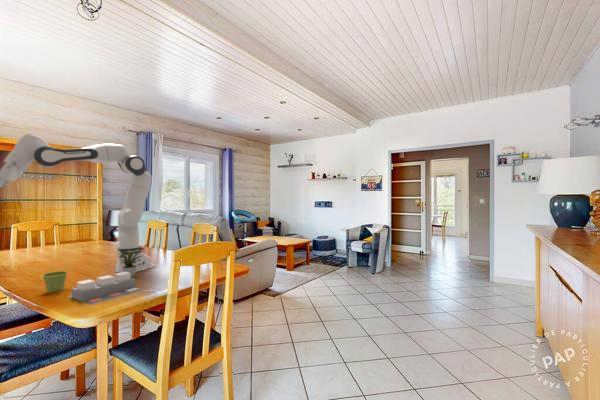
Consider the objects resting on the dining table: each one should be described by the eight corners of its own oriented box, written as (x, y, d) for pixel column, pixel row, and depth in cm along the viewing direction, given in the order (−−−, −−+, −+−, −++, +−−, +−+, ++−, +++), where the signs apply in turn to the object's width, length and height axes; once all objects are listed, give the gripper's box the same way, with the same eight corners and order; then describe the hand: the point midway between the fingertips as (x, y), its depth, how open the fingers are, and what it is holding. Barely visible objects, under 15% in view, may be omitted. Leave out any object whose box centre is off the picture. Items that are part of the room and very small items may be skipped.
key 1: (89, 290, 129) (89, 279, 129) (95, 292, 127) (95, 281, 127) (76, 293, 125) (76, 282, 124) (82, 295, 122) (82, 283, 122)
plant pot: (46, 296, 129) (46, 277, 128) (38, 292, 134) (39, 274, 133) (70, 290, 137) (71, 273, 136) (63, 287, 142) (63, 270, 141)
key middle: (107, 285, 136) (108, 275, 136) (113, 287, 134) (113, 276, 134) (96, 288, 132) (96, 277, 132) (102, 290, 129) (102, 279, 129)
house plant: (129, 282, 151) (129, 252, 151) (107, 280, 153) (107, 251, 153) (148, 275, 165) (148, 247, 165) (127, 273, 167) (128, 246, 167)
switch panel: (120, 285, 147) (120, 275, 146) (144, 291, 137) (144, 281, 137) (67, 298, 126) (67, 287, 126) (91, 307, 117) (91, 295, 117)
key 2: (124, 281, 143) (124, 271, 143) (130, 282, 141) (130, 272, 141) (114, 283, 139) (114, 273, 139) (120, 285, 136) (120, 275, 136)
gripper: (21, 163, 134) (3, 189, 130) (28, 168, 150) (12, 191, 146) (4, 156, 130) (-15, 183, 127) (13, 162, 146) (-4, 185, 143)
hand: (0, 187), depth 136 cm, fingers open, 8 cm apart
